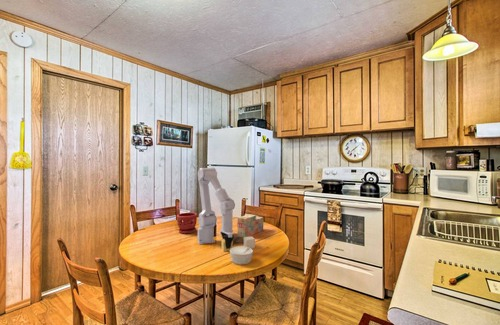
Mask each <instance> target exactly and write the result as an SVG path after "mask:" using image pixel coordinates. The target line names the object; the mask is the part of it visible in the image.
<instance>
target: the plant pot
mask: <svg viewBox="0 0 500 325" xmlns="http://www.w3.org/2000/svg"><path fill="white" fill-rule="evenodd" d="M197 221H198V214H197V213H196V212H181V213H178V214H177V215H176V223H177V227H178V232H179V233H181V234H191V233H194V232H195V231H196V230H197V227H196V226H197V223H198V222H197Z"/></svg>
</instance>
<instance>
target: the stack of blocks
mask: <svg viewBox="0 0 500 325" xmlns="http://www.w3.org/2000/svg"><path fill="white" fill-rule="evenodd" d="M263 231H264V217H262V216H257V214H250V213H248V214H245V215H242V216H239V217H237V233H241V234H242V235H243V237H251V236H253V235H255V234H258V233H260V232H263Z"/></svg>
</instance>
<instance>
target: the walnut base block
mask: <svg viewBox="0 0 500 325" xmlns="http://www.w3.org/2000/svg"><path fill="white" fill-rule="evenodd" d="M232 235H234V238H233V240H232V241H233V245H238V244H244V237H243V235H242V234H241V233H238V232H237V233H233V232H232Z"/></svg>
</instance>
